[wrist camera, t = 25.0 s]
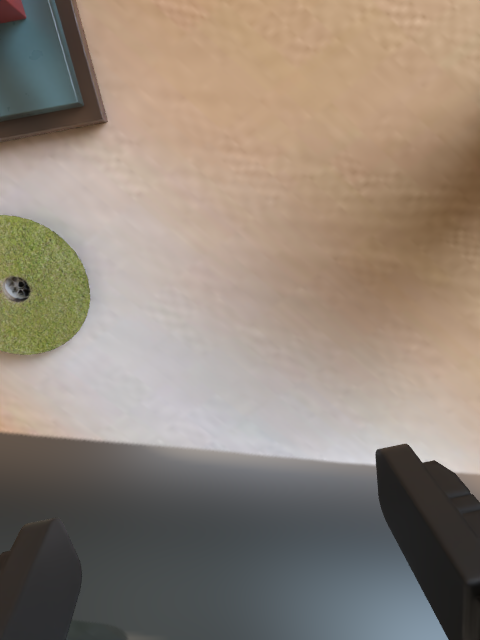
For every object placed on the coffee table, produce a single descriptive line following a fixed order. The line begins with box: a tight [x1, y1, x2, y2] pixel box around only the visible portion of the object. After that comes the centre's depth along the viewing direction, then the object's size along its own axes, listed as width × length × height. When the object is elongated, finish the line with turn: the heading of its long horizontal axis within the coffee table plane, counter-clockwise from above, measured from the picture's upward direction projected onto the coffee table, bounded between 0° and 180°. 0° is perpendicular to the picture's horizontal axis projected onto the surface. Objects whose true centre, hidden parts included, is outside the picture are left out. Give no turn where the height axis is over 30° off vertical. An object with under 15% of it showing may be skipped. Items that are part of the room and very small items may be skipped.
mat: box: [0, 215, 90, 355], centre depth 33 cm, size 11×11×2 cm
